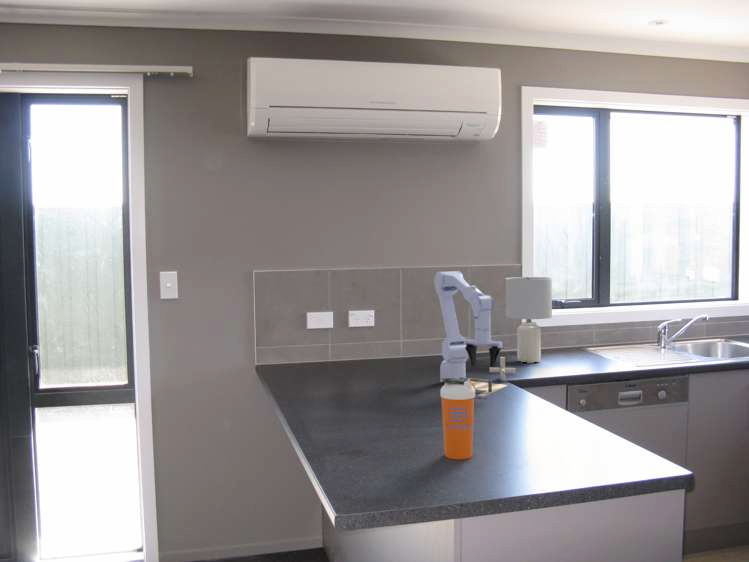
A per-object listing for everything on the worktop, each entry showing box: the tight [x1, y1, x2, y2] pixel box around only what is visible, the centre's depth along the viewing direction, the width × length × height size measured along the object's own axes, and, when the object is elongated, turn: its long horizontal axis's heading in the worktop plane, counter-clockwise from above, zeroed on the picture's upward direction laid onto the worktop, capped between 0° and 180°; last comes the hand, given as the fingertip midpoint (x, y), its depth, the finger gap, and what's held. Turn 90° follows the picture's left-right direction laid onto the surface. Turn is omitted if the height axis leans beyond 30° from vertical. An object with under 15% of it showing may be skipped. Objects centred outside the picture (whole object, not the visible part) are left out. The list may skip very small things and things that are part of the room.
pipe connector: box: [489, 356, 517, 381], centre depth 273 cm, size 10×10×10 cm
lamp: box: [505, 276, 553, 364], centre depth 319 cm, size 20×20×39 cm
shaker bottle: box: [439, 377, 476, 461], centre depth 181 cm, size 9×9×20 cm
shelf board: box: [459, 377, 509, 401], centre depth 258 cm, size 14×22×5 cm, turn 146°
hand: (483, 366), depth 256 cm, fingers open, 7 cm apart
